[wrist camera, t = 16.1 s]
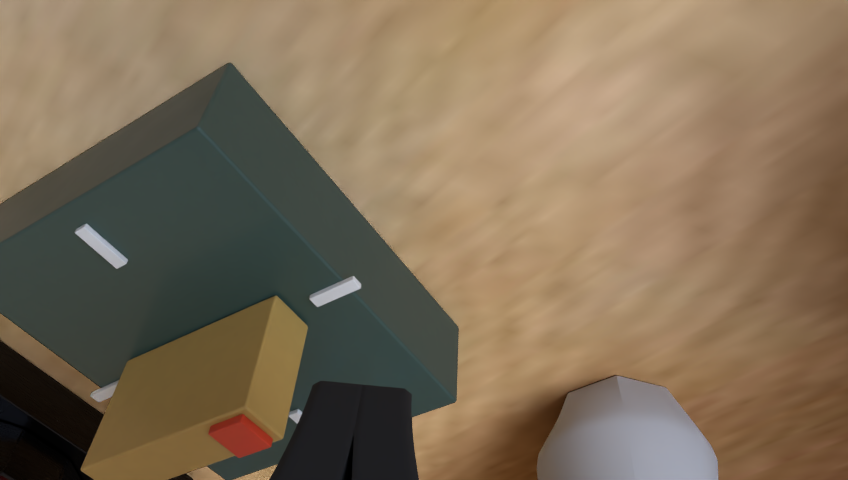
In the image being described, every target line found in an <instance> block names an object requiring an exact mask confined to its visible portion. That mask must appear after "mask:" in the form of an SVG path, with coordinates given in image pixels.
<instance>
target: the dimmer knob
mask: <svg viewBox="0 0 848 480" xmlns="http://www.w3.org/2000/svg"><path fill="white" fill-rule="evenodd" d="M307 330H308V326H307V325H306V324H305V323H304V322H303V321H302V320H301V319H300V318H299V317H298V316H297V315H296V314H295V313H294V312H293V311H292V310H291V309H290V308H289V307H288V306H287V305H286V304H285V303H284V302H283V301H282V300H281V299H280V298H279V297H278V296H273V297H270V298H268V299H266V300H264V301H261V302H259V303H257V304H255V305H252V306H250V307H248V308H246V309H243V310H241V311H239V312H237V313H234V314H232V315H230V316H228V317H225V318H223V319H221V320H219V321H216V322H214V323H212V324H210V325H207V326H205V327H203V328H201V329H198V330H196V331H194V332H192V333H189V334H187V335H185V336H183V337H180V338H178V339H176V340H174V341H171V342H169V343H167V344H165V345H162V346H160V347H158V348H156V349H153V350H151V351H149V352H147V353H144V354H142V355H140V356H138V357H135V358H133V359H131V360H129V361H128V362H127V363H126V366H125V368H124V370H123V372H122V375H121V377H120V379H119V382H118V384H117V386H116V388H115V391H114V393H113V395H112V398H111V400H110V402H109V405H108V407H107V409H106V411H105V414H104V416H103V418H102V421H101V423H100V425H99V427H98V430H97V432H96V434H95V437H94V439H93V441H92V443H91V446H90V448H89V450H88V453H87V455H86V457H85V460H84V462H83V464H82V466H81V471H82V472H83V473H85V474H86V475H88V476H89V477H91V478H92V479H94V480H168V479H171V478H174V477H177V476H179V475H182V474H185V473H188V472H191V471H194V470H196V469H199V468H202V467H205V466H208V465H211V464H213V463H216V462H219V461H222V460H225V459H228V458H230V457H233V456H237V457H238V458H241V457H244V456H247V455H250V454H253V453H256V452H259V451H261V450H264V449H267V448H270V447H271V446H272V443H273V442H276V441H278V440H281V439H283V437H284V434H285V429H286V425H287V420H288V416H289V411H290V407H291V402H292V398H293V393H294V389H295V384H296V380H297V375H298V371H299V366H300V362H301V357H302V353H303V348H304V344H305V339H306V335H307Z"/></svg>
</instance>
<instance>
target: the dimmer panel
mask: <svg viewBox="0 0 848 480" xmlns="http://www.w3.org/2000/svg"><path fill="white" fill-rule="evenodd" d="M273 296H278V297H279V298H280V299H281V300H282V301H283V302H284V303H285V304H286V305H287V306H288V307H289V308H290V309H291V310H292V311H293V312H294V313H295V314H296V315H297V316H298V317H299V318H300V319H301V320H302V321H303V322H304V323H305V324H306V325H307V326H308V330H307V335H306V339H305V344H304V348H303V353H302V357H301V362H300V366H299V371H298V375H297V380H296V384H295V389H294V393H293V398H292V402H291V407H290V411H289V416H288V420H287V425H286V429H285V434H284V437H283V439H281V440H278V441H276V442H273V443H272V446H271V447H270V448H267V449H264V450H261V451H259V452H256V453H253V454H250V455H247V456H244V457H241V458H238V457H237V456H233V457H230V458H228V459H225V460H222V461H219V462H216V463H213V464H211V465H208V466H207V467H209V468H210V469H211V470H213V471H214V472H215V473H217V474H218V475H220V476H221V477H222V478H224V479H225V480H233V479H236V478H239V477H242V476H245V475H247V474H250V473H253V472H256V471H259V470H262V469H265V468H268V467H270V466H273V465H276V464H278V463H279V461H280V459H281V457H282V455H283V453H284V451H285V449H286V447H287V445H288V443H289V441H290V439H291V437H292V435H293V433H294V431H295V428H296V426H297V424H298V422H299V419H300V417H301V415H302V412H303V410H304V407H305V405H306V402H307V400H308V397H309V394H310V391H311V388H312V385H313V384H315V383H317V382H319V381H331V382H341V383H352V384H362V385H373V386H383V387H394V388H405V389H406V390H407V391H408V392H410V393H411V394H412V403H411V412H412V417H414V416H417V415H420V414H423V413H426V412H429V411H432V410H435V409H437V408H440V407H443V406H446V405H449V404H452V403H455V402H456V400H457V366H458V331H459V329H458V326H457V325H456V324H455V323H454V321H453V320H452V319H451V318H450V317H449V316H448V315H447V313H446V312H445V311H444V310H443V309H442V308H441V306H440V305H439V304H438V303H437V302H436V301H435V299H434V298H433V297H432V296H431V295H430V294H429V292H428V291H427V290H426V289H425V288H424V287H423V285H422V284H421V283H420V282H419V281H418V280H417V278H416V277H415V276H414V275H413V274H412V273H411V271H410V270H409V269H408V268H407V267H406V266H405V265H404V263H403V262H402V261H401V260H400V259H399V258H398V256H397V255H396V254H395V253H394V252H393V251H392V249H391V248H390V247H389V246H388V245H387V244H386V242H385V241H384V240H383V239H382V238H381V237H380V235H379V234H378V233H377V232H376V231H375V230H374V228H373V227H372V226H371V225H370V224H369V223H368V221H367V220H366V219H365V218H364V217H363V216H362V215H361V213H360V212H359V211H358V210H357V209H356V208H355V206H354V205H353V204H352V203H351V202H350V201H349V199H348V198H347V197H346V196H345V195H344V194H343V192H342V191H341V190H340V189H339V188H338V187H337V185H336V184H335V183H334V182H333V181H332V180H331V178H330V177H329V176H328V175H327V174H326V173H325V171H324V170H323V169H322V168H321V167H320V166H319V164H318V163H317V162H316V161H315V160H314V159H313V158H312V156H311V155H310V154H309V153H308V152H307V151H306V149H305V148H304V147H303V146H302V145H301V144H300V142H299V141H298V140H297V139H296V138H295V137H294V135H293V134H292V133H291V132H290V131H289V130H288V128H287V127H286V126H285V125H284V124H283V123H282V121H281V120H280V119H279V118H278V117H277V116H276V114H275V113H274V112H273V111H272V110H271V109H270V108H269V106H268V105H267V104H266V103H265V102H264V101H263V99H262V98H261V97H260V96H259V95H258V94H257V92H256V91H255V90H254V89H253V88H252V87H251V85H250V84H249V83H248V82H247V81H246V80H245V78H244V77H243V76H242V75H241V74H240V73H239V71H238V70H237V69H236V68H235V67H234V66H233V64H231V63H228V64H226V65H224V66H222V67H221V68H219V69H218V70H216V71H214V72H213V73H211V74H210V75H208V76H206V77H205V78H203V79H201V80H200V81H198V82H197V83H195V84H193V85H192V86H190V87H189V88H187V89H185V90H184V91H182V92H181V93H179V94H177V95H176V96H174V97H172V98H171V99H169V100H168V101H166V102H164V103H163V104H161V105H160V106H158V107H156V108H155V109H153V110H151V111H150V112H148V113H147V114H145V115H143V116H142V117H140V118H139V119H137V120H135V121H134V122H132V123H131V124H129V125H127V126H126V127H124V128H122V129H121V130H119V131H118V132H116V133H114V134H113V135H111V136H110V137H108V138H106V139H105V140H103V141H101V142H100V143H98V144H97V145H95V146H93V147H92V148H90V149H89V150H87V151H85V152H84V153H82V154H80V155H79V156H77V157H76V158H74V159H72V160H71V161H69V162H68V163H66V164H64V165H63V166H61V167H60V168H58V169H56V170H55V171H53V172H51V173H50V174H48V175H47V176H45V177H43V178H42V179H40V180H39V181H37V182H35V183H34V184H32V185H30V186H29V187H27V188H26V189H24V190H22V191H21V192H19V193H18V194H16V195H14V196H13V197H11V198H10V199H8V200H6V201H5V202H3V203H1V204H0V313H1V314H2V315H3V316H5V317H6V318H8V319H9V320H10V321H12V322H13V323H14V324H16V325H17V326H18V327H20V328H21V329H22V330H24V331H25V332H26V333H28V334H29V335H30V336H32V337H33V338H35V339H36V340H37V341H39V342H40V343H41V344H43V345H44V346H45V347H47V348H48V349H49V350H51V351H52V352H53V353H55V354H56V355H58V356H59V357H60V358H62V359H63V360H64V361H66V362H67V363H68V364H70V365H71V366H72V367H74V368H75V369H76V370H78V371H79V372H80V373H82V374H83V375H85V376H86V377H87V378H89V379H90V380H91V381H93V382H94V383H95V384H97V385H98V386H99V387H101V388H100V389H98V390H95V391H93V392H92V393H91V395H90V397H92V398H93V399H95V400H96V401H97V402H101V401H103V400H106V399H108V398H110V397H112V395H113V393H114V391H115V388H116V386H117V384H118V382H119V379H120V377H121V375H122V372H123V370H124V368H125V366H126V363H127V362H128V361H129V360H131V359H133V358H135V357H138V356H140V355H142V354H144V353H147V352H149V351H151V350H153V349H156V348H158V347H160V346H162V345H165V344H167V343H169V342H171V341H174V340H176V339H178V338H180V337H183V336H185V335H187V334H189V333H192V332H194V331H196V330H198V329H201V328H203V327H205V326H207V325H210V324H212V323H214V322H216V321H219V320H221V319H223V318H225V317H228V316H230V315H232V314H234V313H237V312H239V311H241V310H243V309H246V308H248V307H250V306H252V305H255V304H257V303H259V302H261V301H264V300H266V299H268V298H270V297H273Z"/></svg>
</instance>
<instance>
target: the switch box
mask: <svg viewBox="0 0 848 480" xmlns="http://www.w3.org/2000/svg"><path fill="white" fill-rule="evenodd" d="M103 416H104V415H102V414H101V413H100V412H98V411H97V410H95V409H94V408H93V407H91V406H90V405H89V404H87V403H86V402H84V401H83V400H82V399H80V398H79V397H77V396H76V395H75V394H73V393H72V392H70V391H69V390H68V389H66V388H65V387H63V386H62V385H61V384H59V383H58V382H56V381H55V380H54V379H52V378H51V377H50V376H48V375H47V374H45V373H44V372H43V371H41V370H40V369H38V368H37V367H36V366H34V365H33V364H31V363H30V362H29V361H27V360H26V359H24V358H23V357H22V356H20V355H19V354H17V353H16V352H15V351H13V350H12V349H10V348H9V347H8V346H6V345H5V344H4V343H2V342H1V341H0V480H94V479H92V478H91V477H89V476H88V475H86V474H85V473H83V472H82V471H81V466H82V464H83V462H84V460H85V457H86V455H87V453H88V450H89V448H90V446H91V443H92V441H93V439H94V437H95V434H96V432H97V430H98V427H99V425H100V423H101V421H102V418H103ZM168 480H193V479H192V478H190V477H189V476H187V475H186V474H182V475H179V476H177V477H174V478H171V479H168Z"/></svg>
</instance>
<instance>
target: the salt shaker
mask: <svg viewBox="0 0 848 480" xmlns="http://www.w3.org/2000/svg"><path fill="white" fill-rule="evenodd" d="M537 477H538V480H718V460H717V458H716V455H715V453H714V451H713V448H712V446H711V445H710V443H709V442H708V441H707V439H706V438H705V437H704V435H703V434H702V433H701V431H700V430H699V429H698V427H697V426H696V425H695V424H694V422H693V421H692V420H691V419H690V417H689V416H688V415H687V413H686V412H685V411H684V410H683V408H682V407H681V406H680V405H679V403H678V402H677V401H676V400H675V398H674V397H673V396H672V395H671V393H670V392H669V391H668V389H667V388H666V387H662V386H658V385H653V384H649V383H645V382H641V381H637V380H633V379H629V378H625V377H621V376H617V375H616V376H614V377H611V378H608V379H605V380H603V381H600V382H597V383H594V384H591V385H589V386H586V387H583V388H580V389H578V390H575V391H572V392H569V393H568V394H567V397H566V400H565V402H564V405H563V407H562V410H561V413H560V415H559V418H558V419H557V421H556V423H555V425H554V427H553V429H552V430H551V432H550V434H549V436H548V438H547V439H546V441H545V443H544V445H543V447H542V449H541V450H540V452H539V455H538V463H537Z"/></svg>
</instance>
